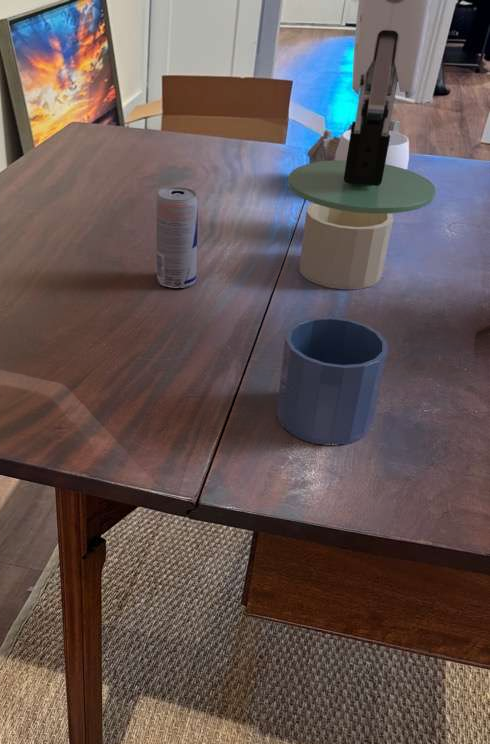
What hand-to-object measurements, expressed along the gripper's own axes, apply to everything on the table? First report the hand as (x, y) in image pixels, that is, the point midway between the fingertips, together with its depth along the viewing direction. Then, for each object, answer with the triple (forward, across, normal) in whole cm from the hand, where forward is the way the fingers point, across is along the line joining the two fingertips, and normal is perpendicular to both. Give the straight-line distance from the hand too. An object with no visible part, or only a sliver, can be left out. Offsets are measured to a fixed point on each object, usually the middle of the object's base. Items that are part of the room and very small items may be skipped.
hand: (362, 175), depth 62 cm
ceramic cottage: (+23, +70, 0) cm, 74 cm away
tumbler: (+23, -4, 0) cm, 23 cm away
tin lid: (+1, 0, 0) cm, 1 cm away
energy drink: (+23, +23, +22) cm, 40 cm away
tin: (+23, +32, 0) cm, 40 cm away
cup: (+23, +46, -2) cm, 52 cm away
